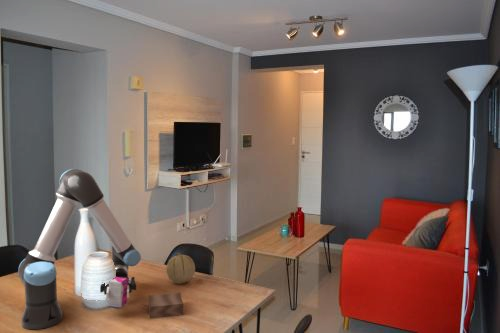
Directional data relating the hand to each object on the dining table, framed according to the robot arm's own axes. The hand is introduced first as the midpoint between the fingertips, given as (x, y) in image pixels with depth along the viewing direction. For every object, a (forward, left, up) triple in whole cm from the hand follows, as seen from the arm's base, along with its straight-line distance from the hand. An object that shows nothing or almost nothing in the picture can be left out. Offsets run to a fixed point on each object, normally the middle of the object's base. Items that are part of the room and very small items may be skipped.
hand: (117, 295), depth 175 cm
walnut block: (+20, +4, -11) cm, 23 cm away
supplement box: (0, +5, -7) cm, 8 cm away
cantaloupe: (+30, +35, -11) cm, 47 cm away
